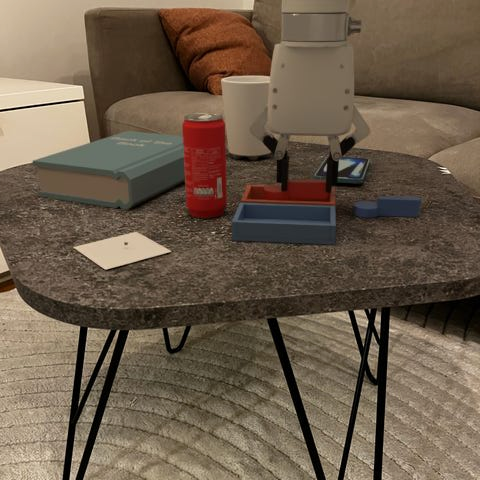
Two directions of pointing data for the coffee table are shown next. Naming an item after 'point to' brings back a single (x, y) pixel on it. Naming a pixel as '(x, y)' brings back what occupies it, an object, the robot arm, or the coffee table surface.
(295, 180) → the red rounded block
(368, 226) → the coffee table surface
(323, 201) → the red tray
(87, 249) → the coaster
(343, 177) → the smartphone
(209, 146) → the beverage can
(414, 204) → the blue rounded block
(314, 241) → the blue tray
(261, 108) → the cup
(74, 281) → the coffee table surface
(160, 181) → the book
